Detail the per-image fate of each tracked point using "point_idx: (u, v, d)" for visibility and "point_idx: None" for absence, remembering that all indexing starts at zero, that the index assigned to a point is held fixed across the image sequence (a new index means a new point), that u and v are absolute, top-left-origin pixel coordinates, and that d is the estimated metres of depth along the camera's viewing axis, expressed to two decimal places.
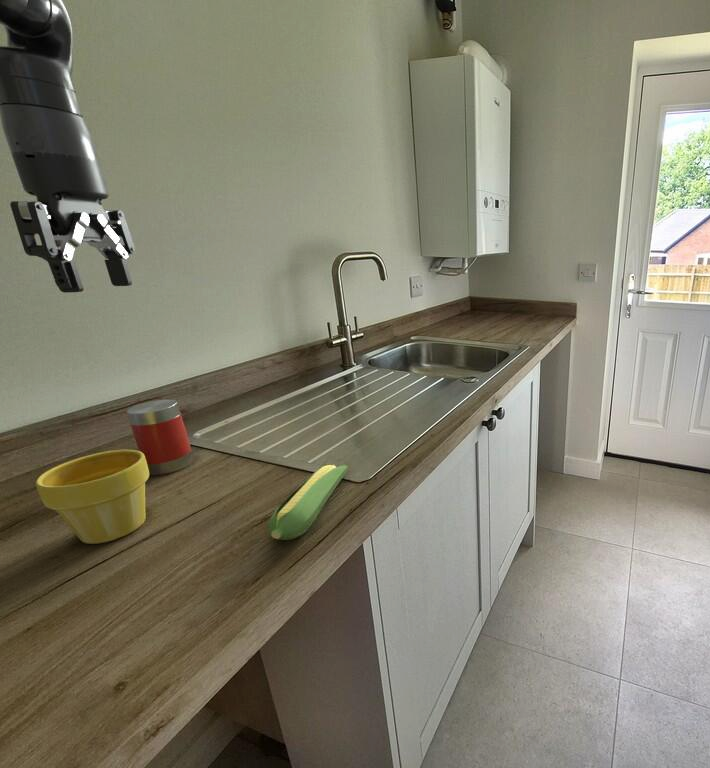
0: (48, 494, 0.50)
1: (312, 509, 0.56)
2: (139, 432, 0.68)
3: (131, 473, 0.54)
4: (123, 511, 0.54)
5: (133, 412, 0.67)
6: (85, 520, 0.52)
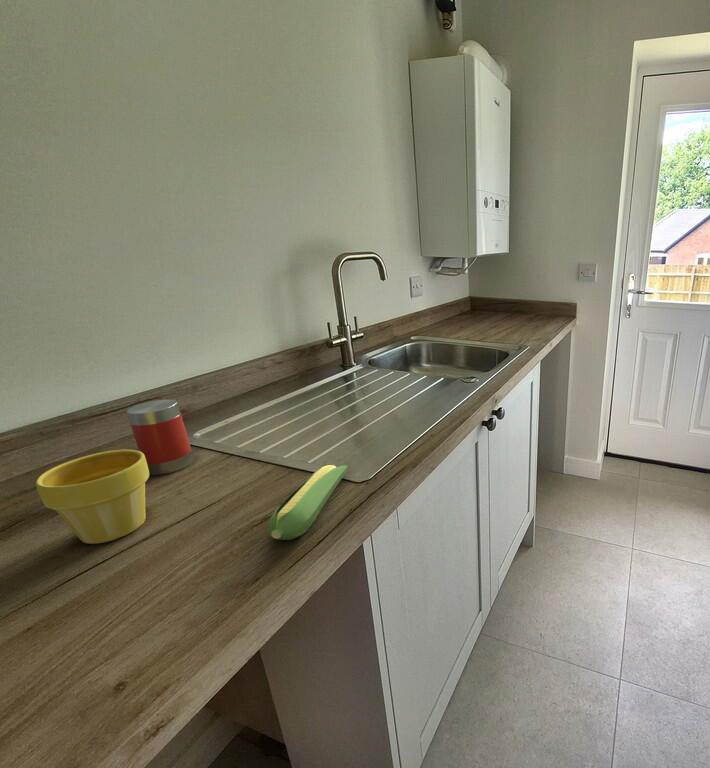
0: (48, 494, 0.50)
1: (312, 509, 0.56)
2: (139, 432, 0.68)
3: (131, 473, 0.54)
4: (123, 511, 0.54)
5: (133, 412, 0.67)
6: (85, 520, 0.52)
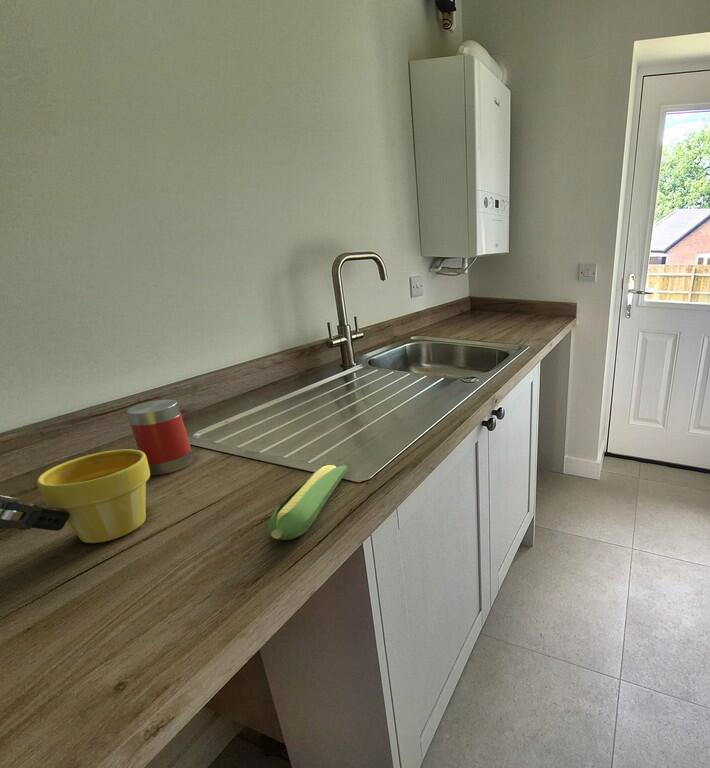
0: (49, 492, 0.50)
1: (312, 509, 0.56)
2: (139, 432, 0.68)
3: (132, 472, 0.54)
4: (123, 510, 0.54)
5: (133, 412, 0.67)
6: (85, 519, 0.52)
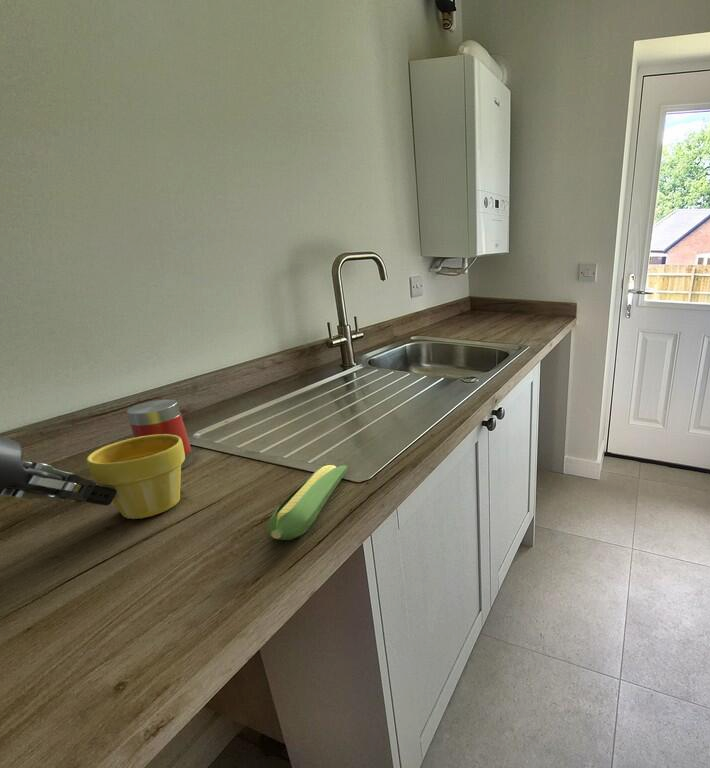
0: (99, 470, 0.54)
1: (312, 509, 0.56)
2: (139, 432, 0.68)
3: (171, 453, 0.59)
4: (163, 489, 0.59)
5: (133, 412, 0.67)
6: (130, 495, 0.57)
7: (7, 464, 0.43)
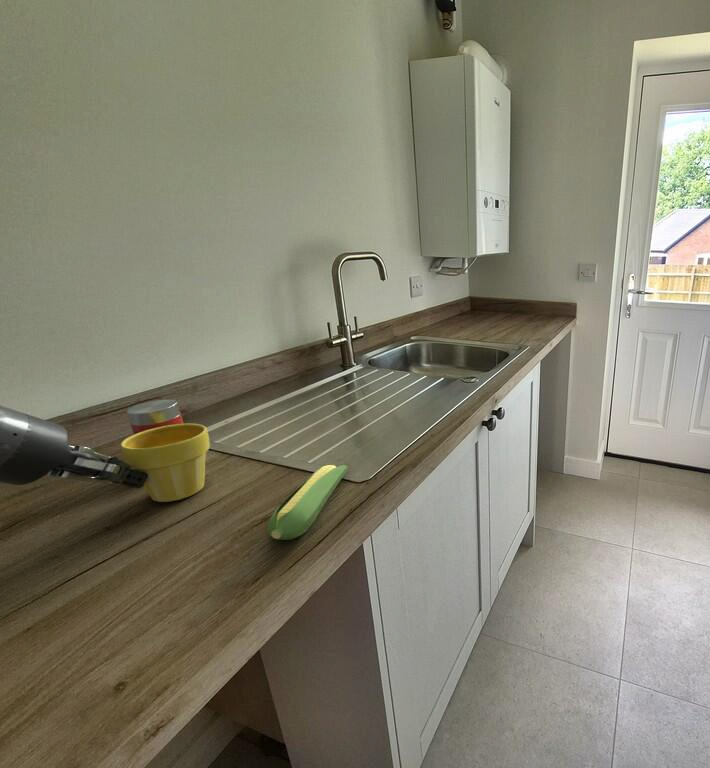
0: (133, 455, 0.58)
1: (312, 509, 0.56)
2: (139, 432, 0.68)
3: (198, 440, 0.63)
4: (190, 474, 0.63)
5: (133, 412, 0.67)
6: (160, 479, 0.61)
7: (56, 446, 0.47)
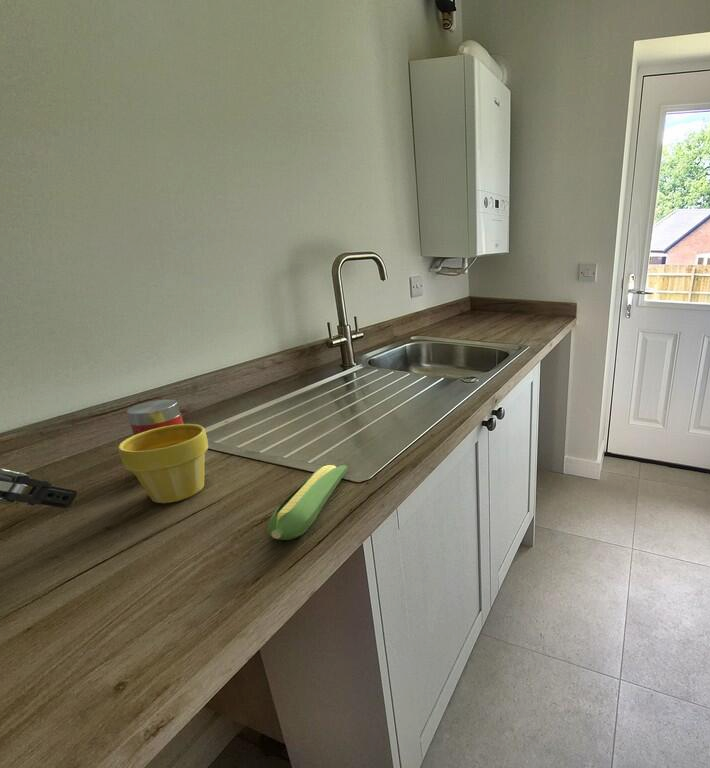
0: (131, 458, 0.58)
1: (312, 509, 0.56)
2: (139, 432, 0.68)
3: (196, 442, 0.63)
4: (189, 475, 0.63)
5: (133, 412, 0.67)
6: (159, 481, 0.61)
7: None
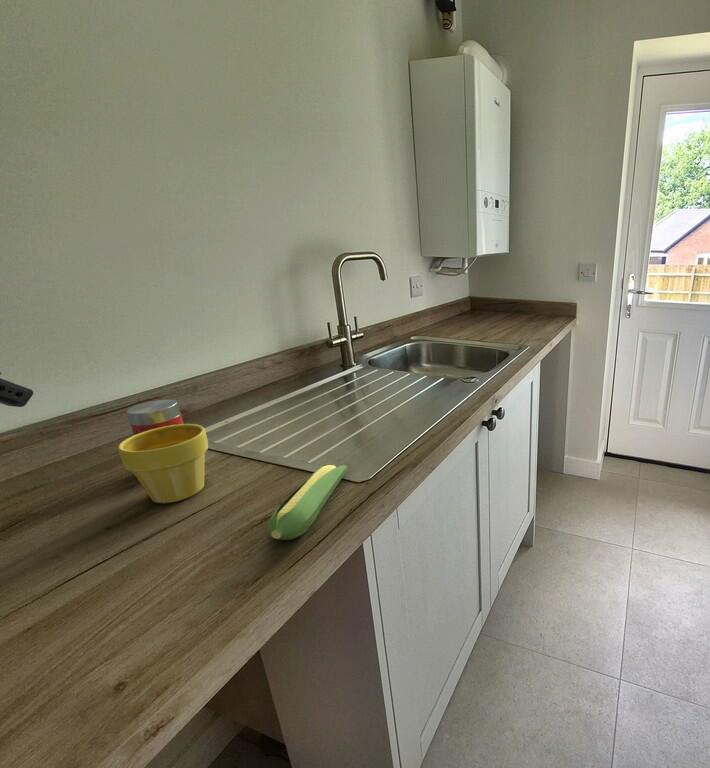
0: (130, 458, 0.58)
1: (312, 509, 0.56)
2: (139, 432, 0.68)
3: (196, 442, 0.63)
4: (189, 475, 0.63)
5: (133, 412, 0.67)
6: (159, 481, 0.61)
7: None
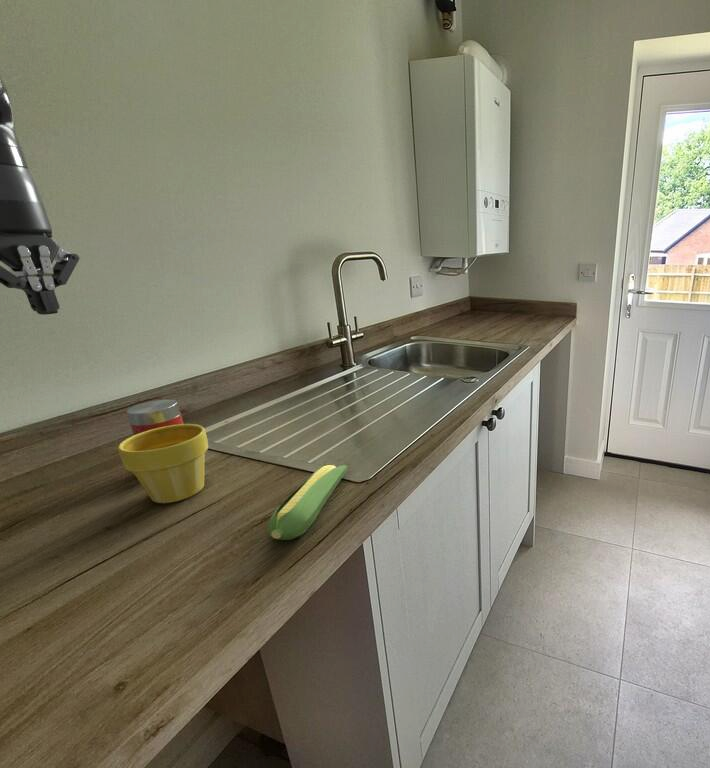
0: (130, 458, 0.58)
1: (312, 509, 0.56)
2: (139, 432, 0.68)
3: (196, 442, 0.63)
4: (189, 475, 0.63)
5: (133, 412, 0.67)
6: (159, 481, 0.61)
7: None
